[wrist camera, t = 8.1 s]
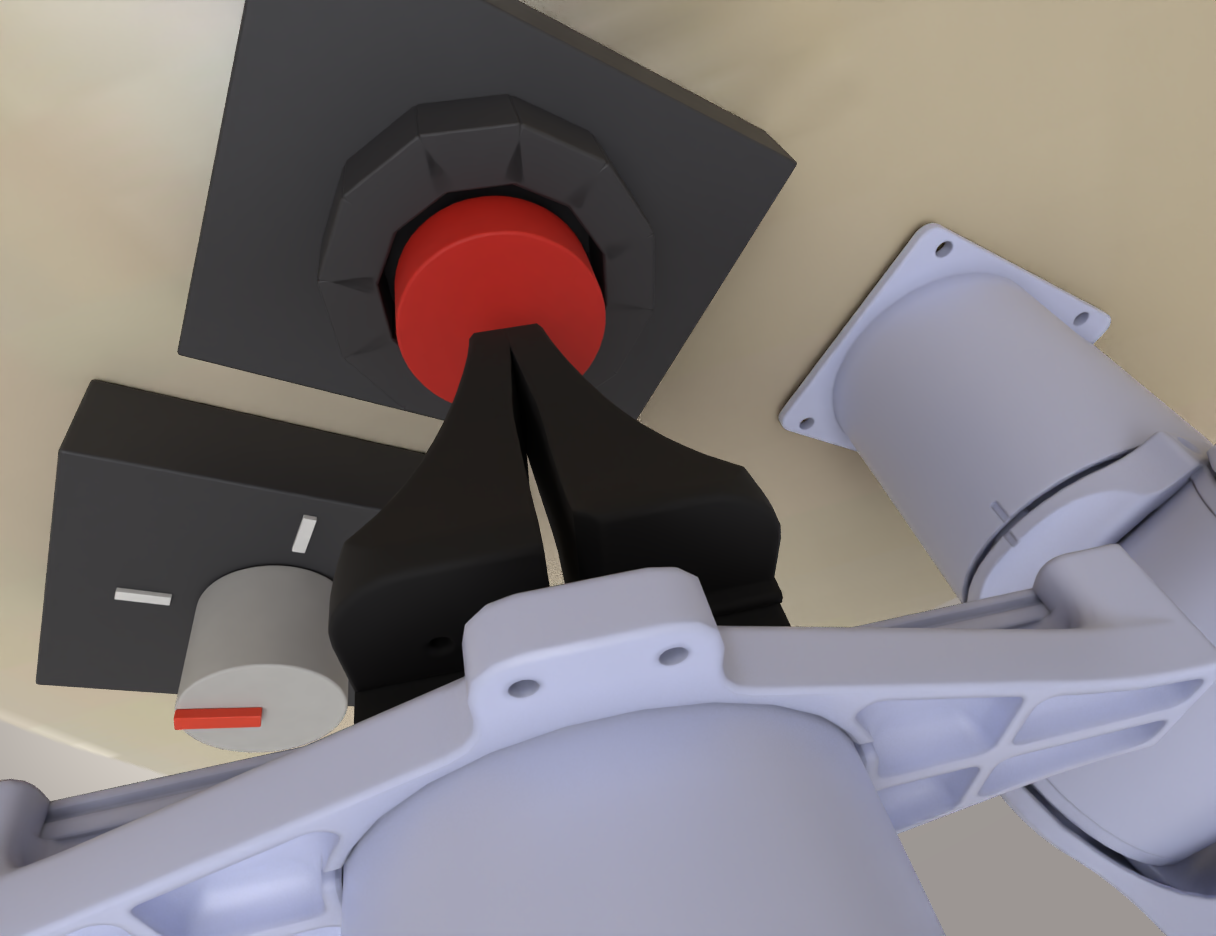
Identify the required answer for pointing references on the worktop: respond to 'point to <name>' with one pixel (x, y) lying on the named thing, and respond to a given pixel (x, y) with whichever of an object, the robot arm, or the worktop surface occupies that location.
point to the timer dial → (262, 663)
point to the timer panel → (186, 524)
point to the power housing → (455, 185)
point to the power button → (492, 286)
